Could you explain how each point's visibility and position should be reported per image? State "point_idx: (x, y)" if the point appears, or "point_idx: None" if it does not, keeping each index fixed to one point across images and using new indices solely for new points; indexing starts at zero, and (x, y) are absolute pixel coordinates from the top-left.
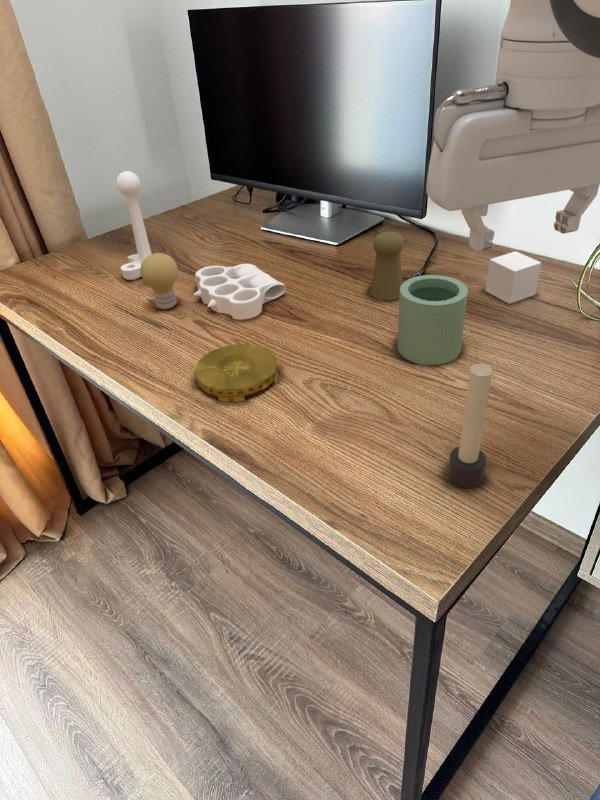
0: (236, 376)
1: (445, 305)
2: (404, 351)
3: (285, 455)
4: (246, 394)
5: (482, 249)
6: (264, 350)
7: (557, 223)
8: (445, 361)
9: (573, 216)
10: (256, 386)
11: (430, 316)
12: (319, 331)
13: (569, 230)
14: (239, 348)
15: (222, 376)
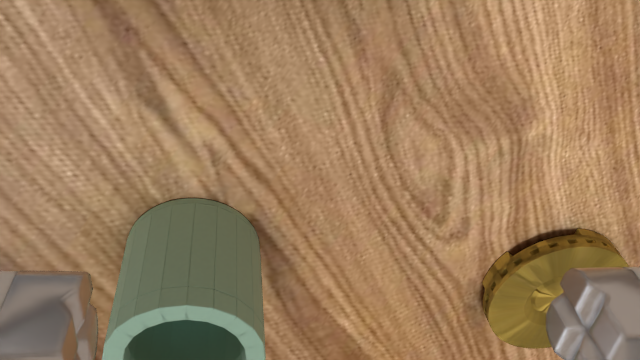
0: None
1: (196, 304)
2: (259, 248)
3: (617, 77)
4: (579, 236)
5: (624, 267)
6: (495, 321)
7: (89, 352)
8: (189, 200)
9: (16, 352)
10: (563, 245)
11: (229, 290)
12: (355, 346)
13: (50, 276)
14: (525, 337)
15: None
